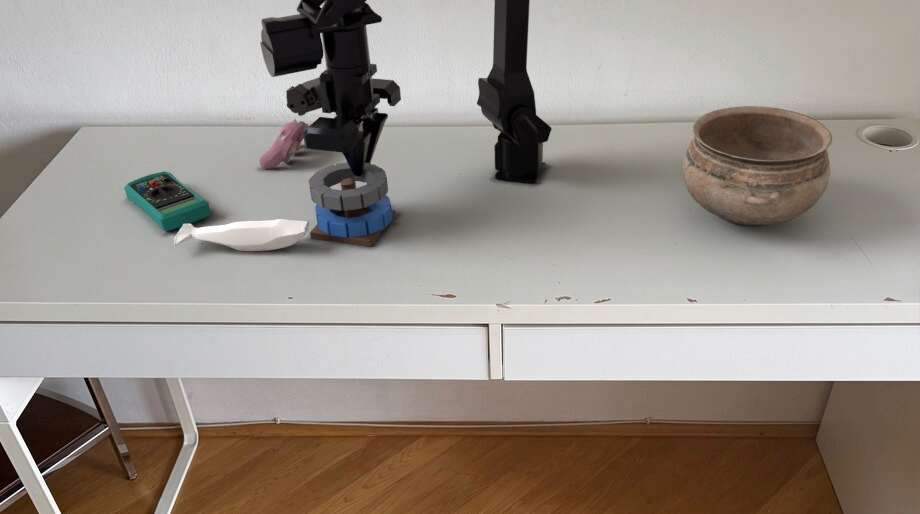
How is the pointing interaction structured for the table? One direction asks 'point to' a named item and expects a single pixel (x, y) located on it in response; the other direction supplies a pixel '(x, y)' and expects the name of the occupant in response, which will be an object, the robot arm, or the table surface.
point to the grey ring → (348, 198)
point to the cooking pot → (757, 164)
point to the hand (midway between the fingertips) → (361, 171)
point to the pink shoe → (284, 145)
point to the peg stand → (360, 240)
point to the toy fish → (248, 234)
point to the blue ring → (355, 220)
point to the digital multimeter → (167, 200)
